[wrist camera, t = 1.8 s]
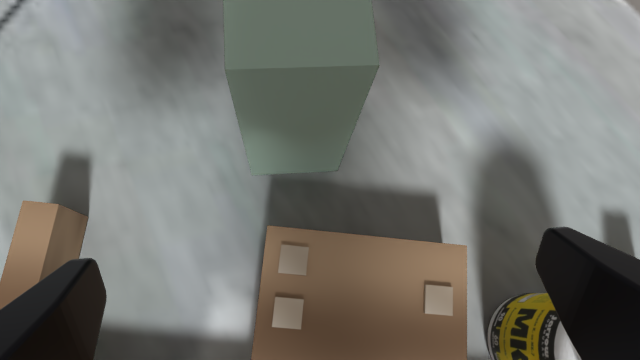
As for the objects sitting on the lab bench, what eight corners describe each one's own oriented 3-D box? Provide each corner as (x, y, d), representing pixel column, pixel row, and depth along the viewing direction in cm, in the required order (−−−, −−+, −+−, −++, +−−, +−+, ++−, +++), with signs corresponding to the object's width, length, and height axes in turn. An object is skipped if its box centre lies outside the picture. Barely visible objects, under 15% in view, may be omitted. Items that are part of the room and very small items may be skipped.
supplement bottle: (477, 296, 22) (585, 293, 14) (565, 290, 23) (718, 283, 15) (493, 400, 21) (622, 460, 13) (586, 391, 22) (765, 444, 14)
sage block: (337, 170, 24) (379, 65, 13) (252, 175, 23) (225, 69, 13) (330, 93, 25) (363, -61, 14) (248, 96, 24) (221, -61, 14)
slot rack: (659, 477, 21) (724, 507, 18) (2, 427, 19) (-51, 450, 16) (638, 272, 23) (692, 267, 20) (57, 213, 22) (20, 199, 19)
